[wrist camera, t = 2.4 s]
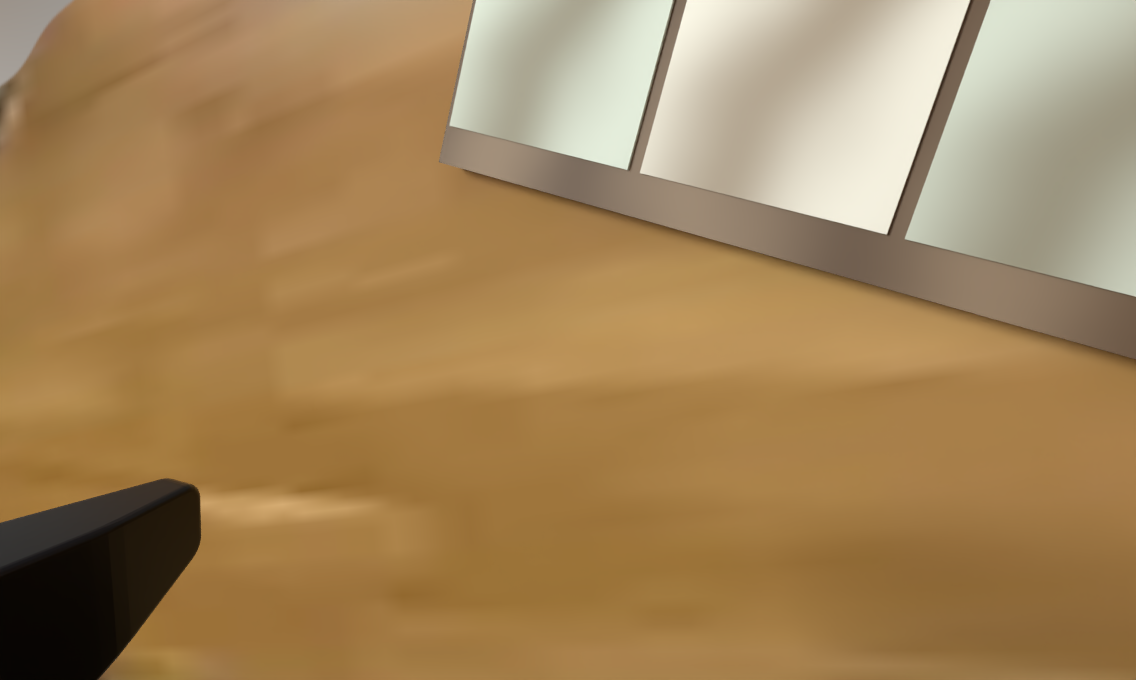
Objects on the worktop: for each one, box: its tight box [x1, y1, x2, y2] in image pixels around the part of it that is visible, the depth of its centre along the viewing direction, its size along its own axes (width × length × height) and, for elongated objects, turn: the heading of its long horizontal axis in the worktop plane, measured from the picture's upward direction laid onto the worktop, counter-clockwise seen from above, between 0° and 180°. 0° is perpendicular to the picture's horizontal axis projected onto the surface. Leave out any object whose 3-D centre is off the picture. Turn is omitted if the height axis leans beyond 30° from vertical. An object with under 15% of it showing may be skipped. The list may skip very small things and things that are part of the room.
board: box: [439, 0, 1136, 359], centre depth 16 cm, size 28×9×1 cm, turn 74°
